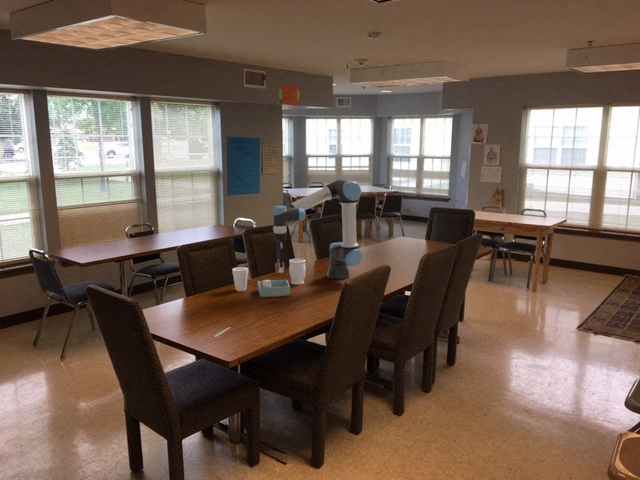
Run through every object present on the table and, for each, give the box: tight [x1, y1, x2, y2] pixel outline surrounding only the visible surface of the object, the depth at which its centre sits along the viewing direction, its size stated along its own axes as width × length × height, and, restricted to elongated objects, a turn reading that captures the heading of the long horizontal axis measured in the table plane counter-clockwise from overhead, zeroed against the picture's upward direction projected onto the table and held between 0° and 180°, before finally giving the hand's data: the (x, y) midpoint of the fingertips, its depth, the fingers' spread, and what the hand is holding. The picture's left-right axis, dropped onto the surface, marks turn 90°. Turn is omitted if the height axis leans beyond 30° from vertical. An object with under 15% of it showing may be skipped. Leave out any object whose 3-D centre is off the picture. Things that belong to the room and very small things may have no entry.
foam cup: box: [232, 266, 249, 292], centre depth 308 cm, size 10×9×13 cm
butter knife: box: [213, 326, 232, 338], centre depth 246 cm, size 1×27×3 cm
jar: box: [288, 258, 307, 285], centre depth 322 cm, size 11×10×15 cm
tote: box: [257, 279, 291, 298], centre depth 302 cm, size 18×16×6 cm
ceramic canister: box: [262, 279, 271, 288], centre depth 301 cm, size 5×5×7 cm
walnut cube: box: [274, 262, 286, 274], centre depth 300 cm, size 5×5×5 cm
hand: (280, 271), depth 301 cm, fingers closed on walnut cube, 5 cm apart
